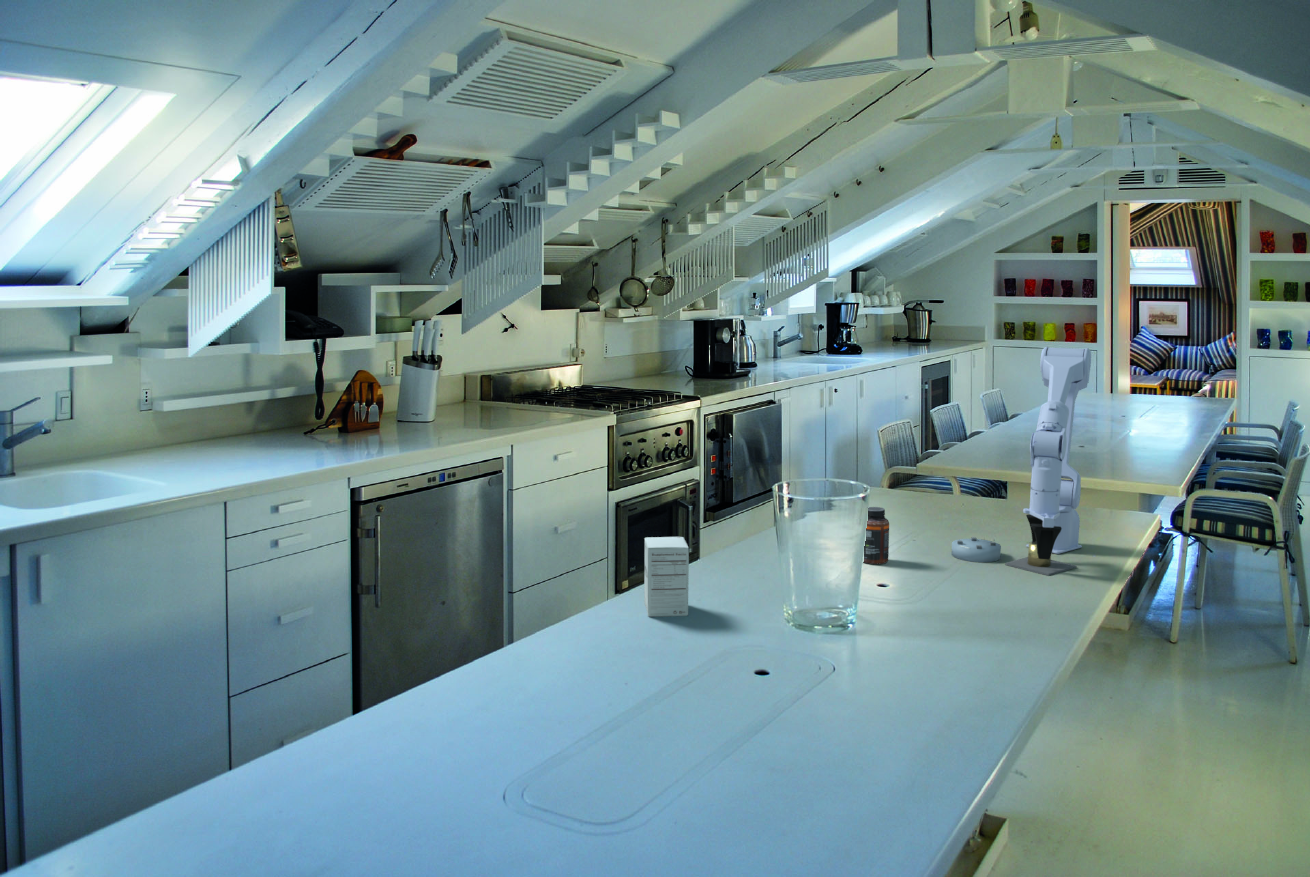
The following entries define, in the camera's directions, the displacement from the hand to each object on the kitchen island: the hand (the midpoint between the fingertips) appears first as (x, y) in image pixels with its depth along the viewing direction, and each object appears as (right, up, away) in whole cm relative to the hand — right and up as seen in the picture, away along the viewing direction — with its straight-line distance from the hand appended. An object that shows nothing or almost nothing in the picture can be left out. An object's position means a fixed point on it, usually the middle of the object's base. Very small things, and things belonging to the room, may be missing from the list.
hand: (1041, 553), depth 218 cm
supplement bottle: (-34, -2, +4) cm, 34 cm away
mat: (0, -3, 0) cm, 3 cm away
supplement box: (-78, -7, -29) cm, 83 cm away
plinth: (-11, -1, +8) cm, 14 cm away
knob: (0, -2, 0) cm, 2 cm away
